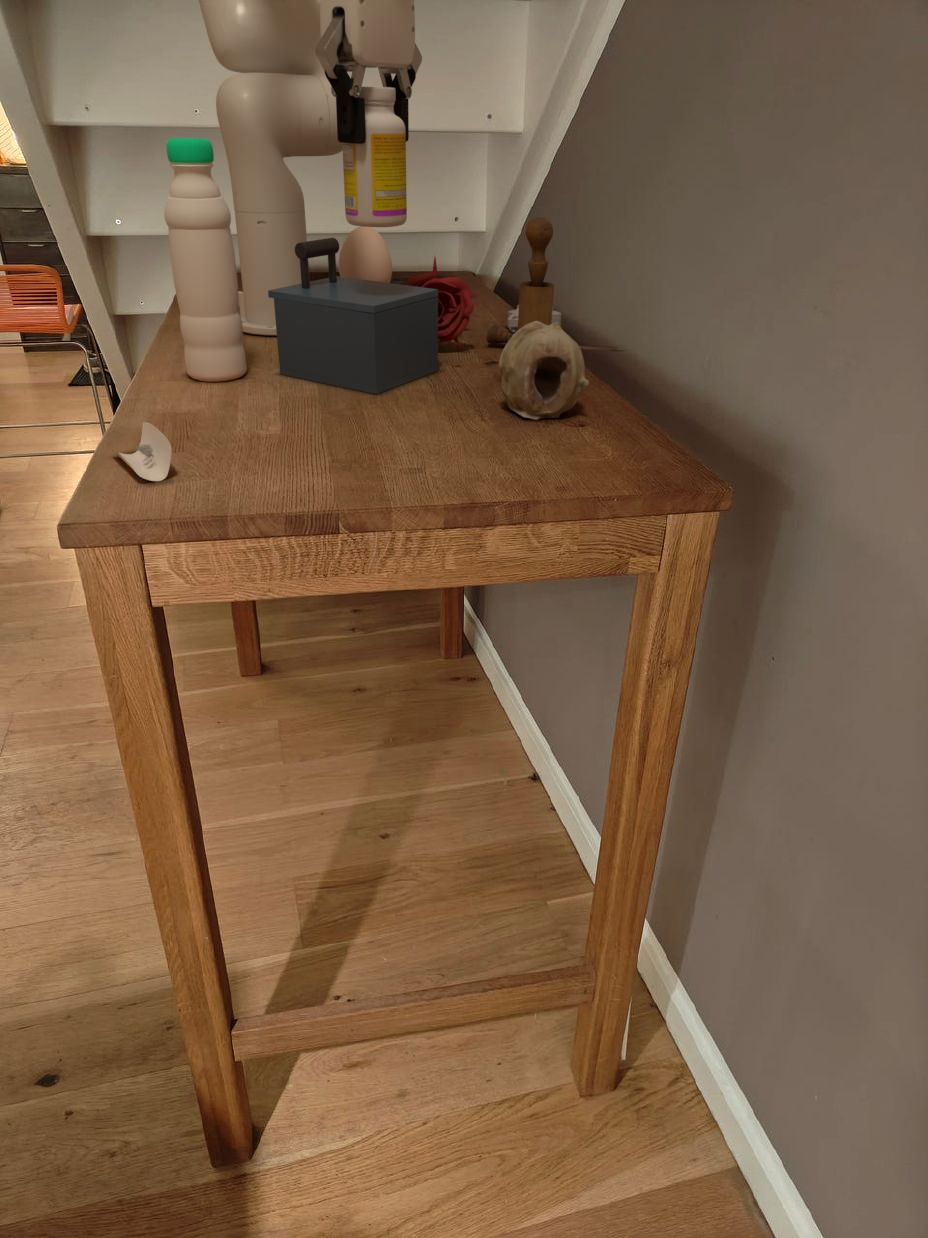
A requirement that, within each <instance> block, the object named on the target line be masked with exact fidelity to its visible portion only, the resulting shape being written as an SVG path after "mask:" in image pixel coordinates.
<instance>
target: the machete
mask: <svg viewBox="0 0 928 1238" xmlns="http://www.w3.org/2000/svg"><path fill="white" fill-rule="evenodd" d="M515 333H516V332H512V331H510V329H509V328H508V329H507V328H505V327H502V326H501V325H499V324H495V323H493V322H492V323H490V324H489V325H488V328H487V330H486V342H487V343H488V345H489V344H491V345H492V344H493V345H494V344H507V343H508V341H509V340H510V338H511V337H512V336H513V335H514V334H515ZM578 346H579V347H580V349H581V350H585V351H586V350H587V351H601V352H602V351H603V352H604V351H605V352H619V353H620V352H628V351H629V350H628V349H624V348H621V347H617V346H604V345H599V346H598V345H595V346H594V345H578Z"/></svg>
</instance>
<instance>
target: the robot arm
mask: <svg viewBox="0 0 928 1238" xmlns="http://www.w3.org/2000/svg"><path fill="white" fill-rule="evenodd" d="M319 1H320V2H319ZM319 1H318V0H198V3H199V7H200V10H201V14H202V18H203V22H204V26H205V30H206V33H207V34H206V35H207V38H208V40H209V43H210V47H211V49H212V52H213V55H214V56H215V59H216V60H217V62H218V63H219V65H220V66H222V67H224V69H226V70H228V71H231V72H234V73H237V74H234V75H231V76H229V77H228V78H226V79H225V80H224V81H223V82H222V83H221V84H220V86H219V87H218V89H217V91H216V96H215V108H216V117H217V121H218V126H219V130H220V133H221V134H220V135H221V137H222V142H223V146H224V149H225V154H226V155H225V156H226V159H227V165H228V170H229V178H230V183H231V193H232V200H233V209H234V216H235V217H234V219H235V227H236V236H237V238H236V239H237V247H238V248H237V249H238V255H239V256H238V258H239V265H240V267H239V268H240V275H241V283H242V284H241V285H242V291H241V290H238V296H239V313H240V316H241V320H242V328H243V333H246V334H250V335H258V336H277V331H276V320H275V308H274V298H269V297H268V290H272V289H277V288H282V287H287V286H292V285H297V284H302V283H301V269H300V259H299V258H298V257H297V256H296V254H295V246H296V244H297V243H300V242H307V241H308V235H307V222H306V221H307V220H306V207H305V198H304V193H303V189H302V187H301V185H300V183H299V181H298V179H297V178H296V176H295V175H294V173H292V171H291V169H290V168H289V167H288V166H287V164H286V162H285V161H284V158H291V157H327V156H329V157H330V156H334V155H337V154H340V153H341V152H343V148H342V143H354V144H364V143H365V141H366V129H365V101H364V98H358V97H359V95H360V92H361V87H363V82H364V79H365V73H366V69H367V68H368V69H369V68H370V69H374V68H375V69H376V68H377V69H378V73H379V77H380V81H381V86H382V87H389V88H395V92H396V101H395V104H394V105H393V107H394V114H395V115H396V116H398V117H399V118H401V119H402V121H403V122H404V124H405V132H406V143H407V142H408V141H409V138H410V137H409V136H410V134H409V133H410V132H409V131H410V129H409V127H410V125H409V122H410V121H409V100H410V99H411V97H412V95H413V89H412V87H413V85H414V83H415V81H416V79H417V73H418V71H419V68H420V66H421V64H422V62H423V55H422V53H421V51H420V50H419V48H418V45H417V43H416V19H415V18H416V14H415V13H416V12H415V0H319ZM349 72H350V73H351V75H349ZM392 75H394V78H393V76H392ZM308 267H309V268H310V266H309V264H308ZM309 282H311V281H310V279H309Z"/></svg>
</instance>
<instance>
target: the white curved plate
mask: <svg viewBox="0 0 928 1238" xmlns="http://www.w3.org/2000/svg"><path fill="white" fill-rule="evenodd" d="M109 448H110V449H111V450H112V451H113V452H114V453H115V454H116V455H117V456H118V457H119V458H120V459H121V460H122V461H123V462H124V463H125V464H126V465H127V466H128V467H129V468H131V470H132V471H133V472H134V473H136V475H137V476H139V477H140V478H141V479H144V480H147V481H152V482H160V481H163V480H165V479H166V478H167V476H168V474H169V471H170V467H171V461H172V453H173V450H172V445H171V442H170V440H169V439H168V438H167V436H166V435H165V434H164V433H163V432H162V431H160V430H159V429H158V428H157V427H156V426H155V425H154V424H152V423H150V422H148V421H144V422H143V423H142V427H141V437H140V442H139V445H135V448H136V451H135V452H134V453H123V452H119V451H117V449H115V448H114V447H112V445H109Z"/></svg>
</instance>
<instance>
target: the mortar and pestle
mask: <svg viewBox="0 0 928 1238" xmlns="http://www.w3.org/2000/svg"><path fill="white" fill-rule="evenodd" d="M553 236H554V227H553V224H552V222H551V221H550V219H548V218H547V217H533V218H532V219H531V220H529V221H528V224H527V226H526V228H525V237H526V240H527V242H528V245H529V246H530V248H531V259H530V260H528V261H527V266H528V272H529V273H528V274H529V277H530V278H529V279H530V280H529V281H521V282H520V283H519V293H518V305H519V314H518V330H519V329H520V328H522V327H524V326H525V325H527V324H529V323H531V322H534V321H539V322H541V323H543V324H546V325H551V320H552V306H553V305H554V304H553V303H554V292H555V284H554V283H552V282H549V281H548V282H547V281H545V278H546V273H547V272H548V267H549V261H548V260H547V259H546V250H547V248H548V246H549V244H550V242H551V241H552V238H553ZM553 307H554V306H553Z"/></svg>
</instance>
